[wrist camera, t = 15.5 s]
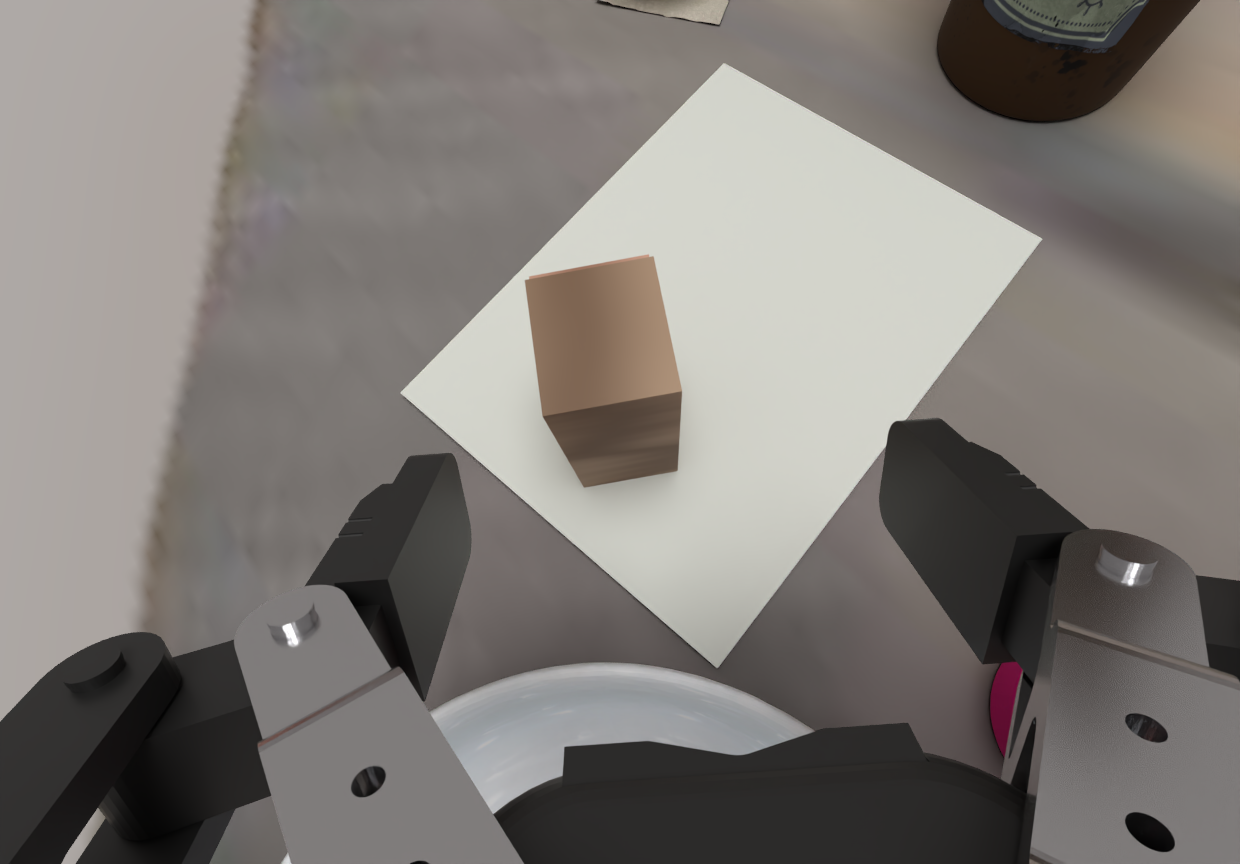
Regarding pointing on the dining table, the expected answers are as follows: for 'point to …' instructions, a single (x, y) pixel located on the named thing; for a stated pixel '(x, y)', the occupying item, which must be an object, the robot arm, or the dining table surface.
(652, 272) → the walnut block
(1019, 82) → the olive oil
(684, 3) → the condiment
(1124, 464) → the dining table surface
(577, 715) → the serving bowl
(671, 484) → the rubber mat
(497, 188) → the dining table surface
